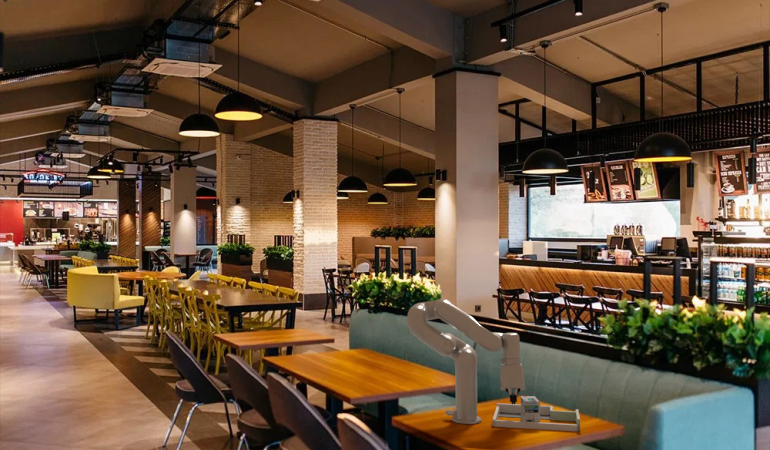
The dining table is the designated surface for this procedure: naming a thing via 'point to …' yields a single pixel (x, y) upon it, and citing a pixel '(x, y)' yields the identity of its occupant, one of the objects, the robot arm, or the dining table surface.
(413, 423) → the dining table surface
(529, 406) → the light bulb box
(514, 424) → the frame
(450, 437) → the dining table surface
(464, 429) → the dining table surface
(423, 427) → the dining table surface
